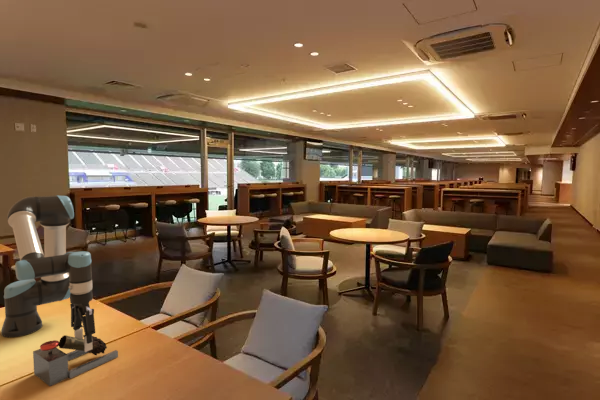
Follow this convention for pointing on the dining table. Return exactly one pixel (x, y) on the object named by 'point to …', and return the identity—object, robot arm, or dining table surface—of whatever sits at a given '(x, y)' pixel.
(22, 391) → the dining table surface
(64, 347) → the morel mushroom
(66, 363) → the cradle
